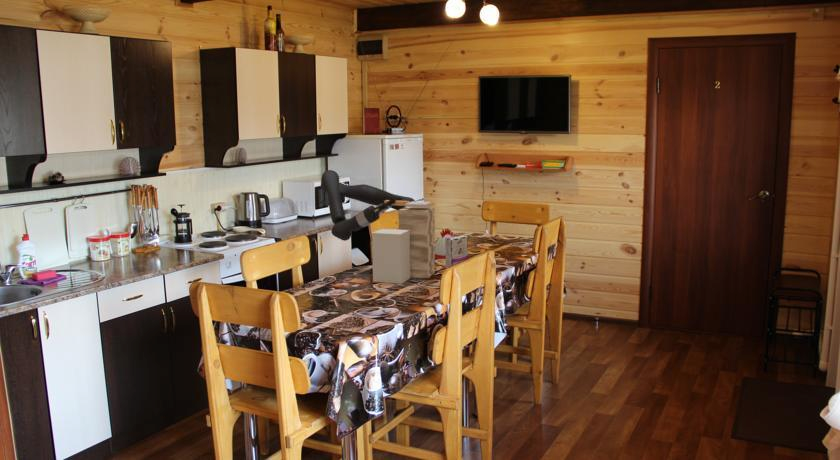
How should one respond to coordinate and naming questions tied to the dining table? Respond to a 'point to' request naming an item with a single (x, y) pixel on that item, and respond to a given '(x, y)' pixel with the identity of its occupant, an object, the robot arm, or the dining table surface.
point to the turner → (411, 203)
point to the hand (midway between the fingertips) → (395, 199)
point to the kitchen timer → (442, 244)
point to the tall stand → (420, 239)
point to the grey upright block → (391, 255)
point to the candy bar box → (456, 250)
